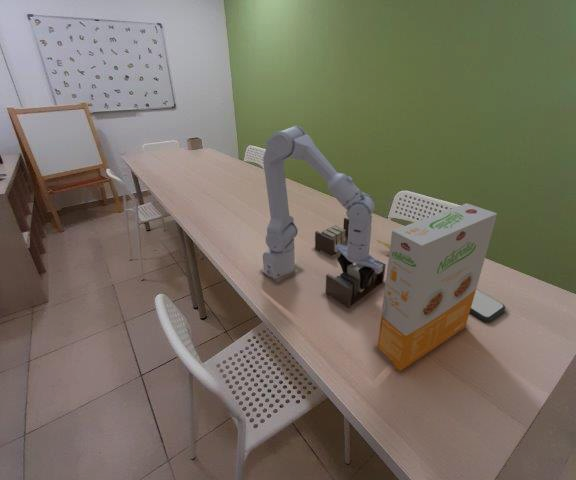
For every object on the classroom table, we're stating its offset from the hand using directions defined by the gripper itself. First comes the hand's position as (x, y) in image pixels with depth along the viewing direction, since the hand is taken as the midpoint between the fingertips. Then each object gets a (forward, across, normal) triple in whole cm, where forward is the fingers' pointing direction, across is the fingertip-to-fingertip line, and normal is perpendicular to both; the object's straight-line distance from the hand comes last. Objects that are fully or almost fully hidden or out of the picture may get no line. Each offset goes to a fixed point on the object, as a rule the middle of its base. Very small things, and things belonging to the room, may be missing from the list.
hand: (355, 282), depth 84 cm
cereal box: (+3, -21, +2) cm, 21 cm away
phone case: (+3, -22, -19) cm, 29 cm away
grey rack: (+2, 0, 0) cm, 2 cm away
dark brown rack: (+2, +19, -15) cm, 24 cm away
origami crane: (+3, 0, -24) cm, 24 cm away
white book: (+2, 0, 0) cm, 2 cm away
